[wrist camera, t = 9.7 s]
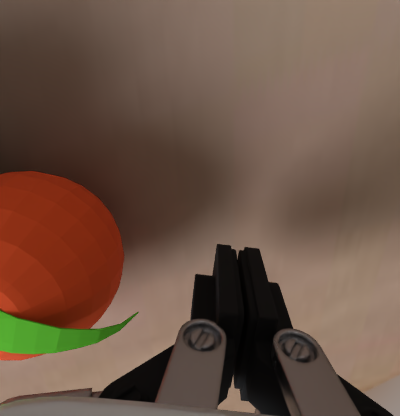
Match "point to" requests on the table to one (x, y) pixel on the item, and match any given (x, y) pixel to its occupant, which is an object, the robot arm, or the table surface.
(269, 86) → the table surface
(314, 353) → the robot arm
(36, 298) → the clementine
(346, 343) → the table surface
